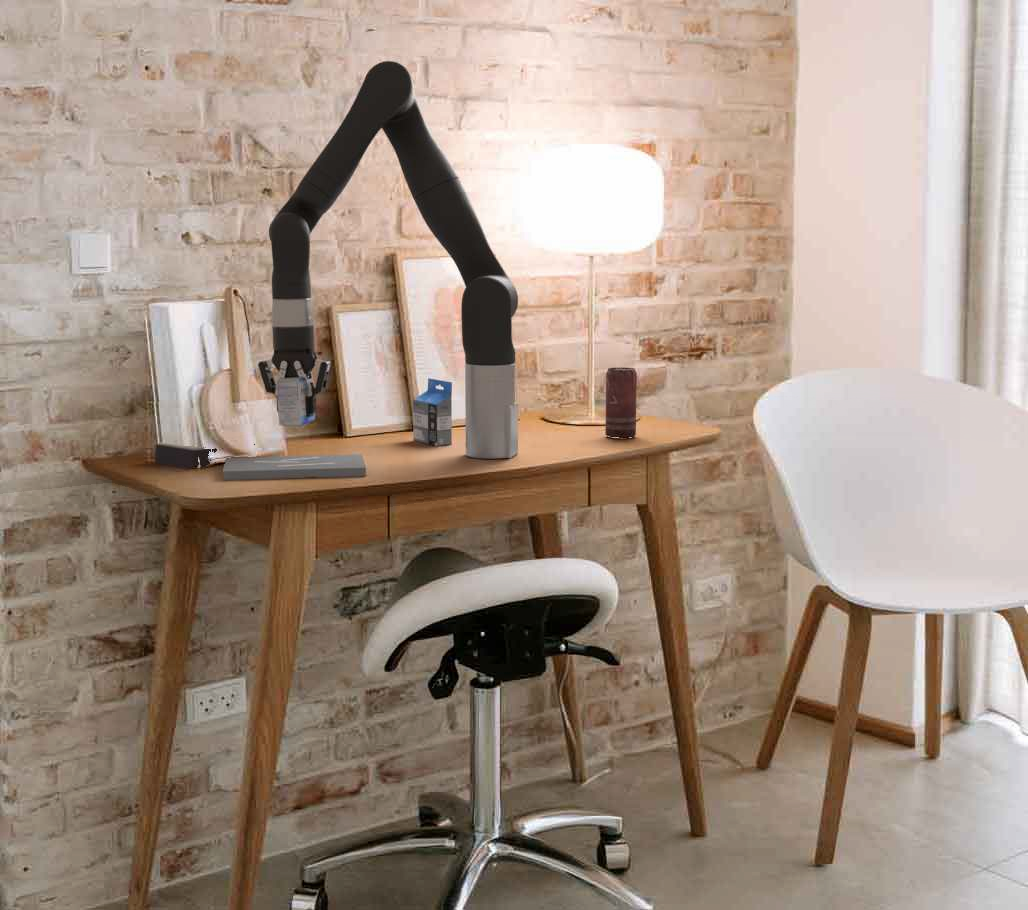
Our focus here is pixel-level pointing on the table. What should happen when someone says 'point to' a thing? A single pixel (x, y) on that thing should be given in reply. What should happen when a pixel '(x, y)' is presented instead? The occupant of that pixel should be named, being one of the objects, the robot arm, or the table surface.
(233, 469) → the slate board
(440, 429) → the label tape cartridge
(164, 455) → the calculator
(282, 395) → the medicine box
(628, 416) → the can
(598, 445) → the table surface
